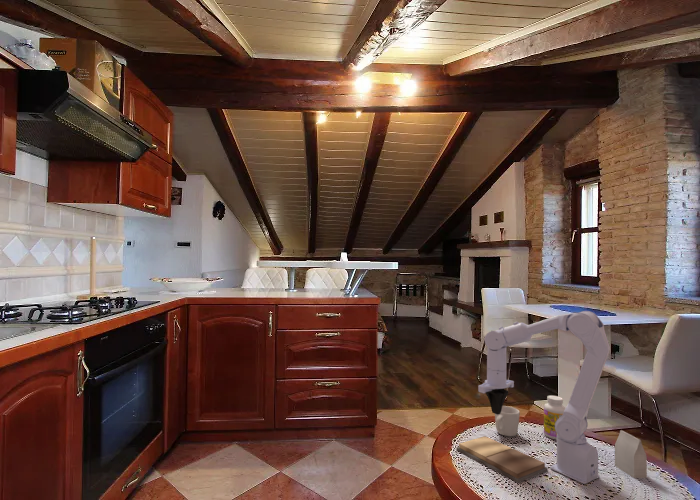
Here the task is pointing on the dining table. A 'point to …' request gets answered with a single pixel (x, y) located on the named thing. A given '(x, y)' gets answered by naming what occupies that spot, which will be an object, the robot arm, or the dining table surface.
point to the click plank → (483, 447)
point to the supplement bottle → (552, 415)
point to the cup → (507, 421)
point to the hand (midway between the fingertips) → (496, 413)
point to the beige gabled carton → (630, 455)
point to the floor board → (511, 464)
